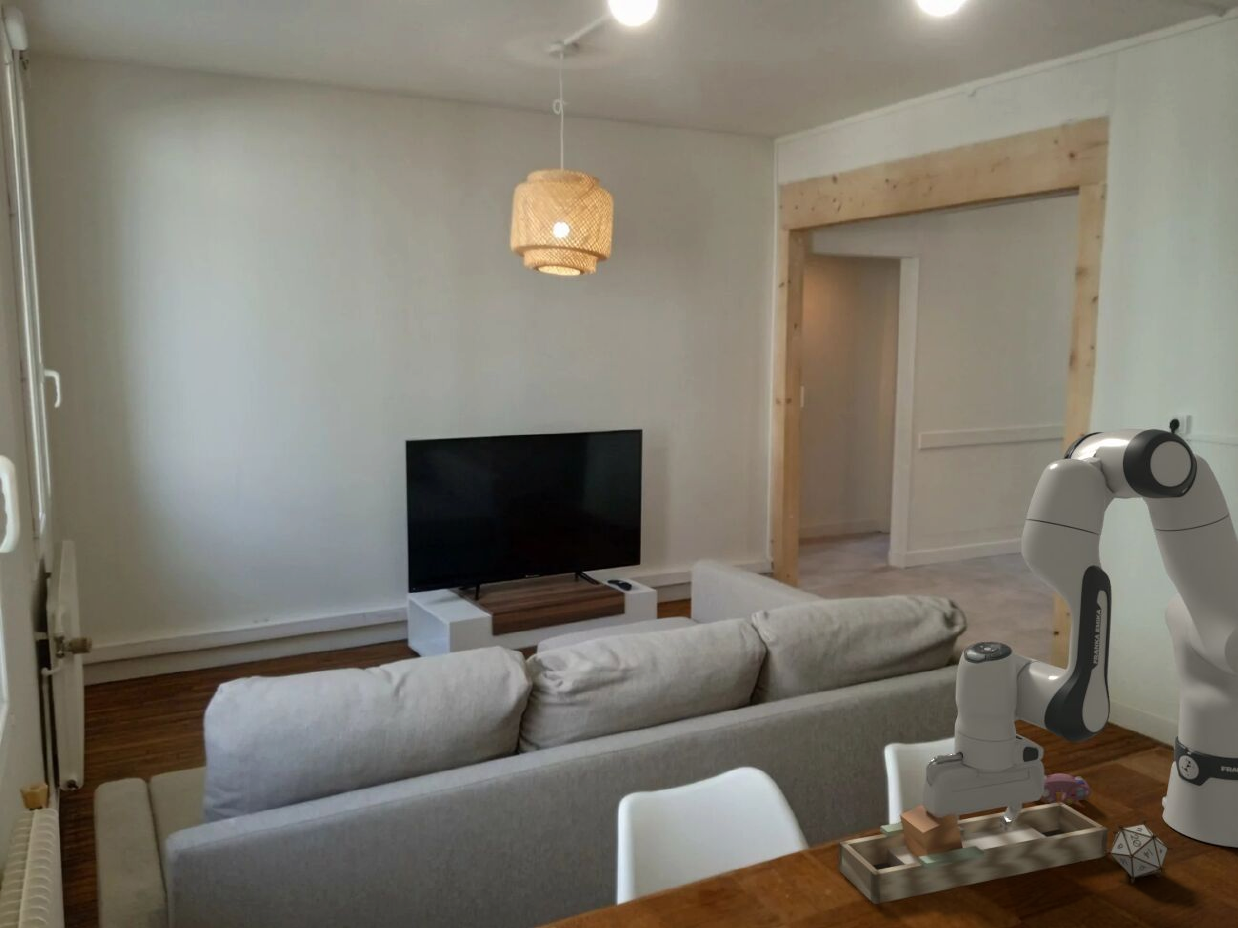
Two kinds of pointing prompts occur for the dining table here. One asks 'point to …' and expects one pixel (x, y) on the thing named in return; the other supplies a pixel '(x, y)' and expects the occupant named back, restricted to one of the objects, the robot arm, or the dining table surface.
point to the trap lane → (971, 853)
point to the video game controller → (1065, 788)
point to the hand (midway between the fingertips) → (982, 833)
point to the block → (930, 832)
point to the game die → (1138, 850)
